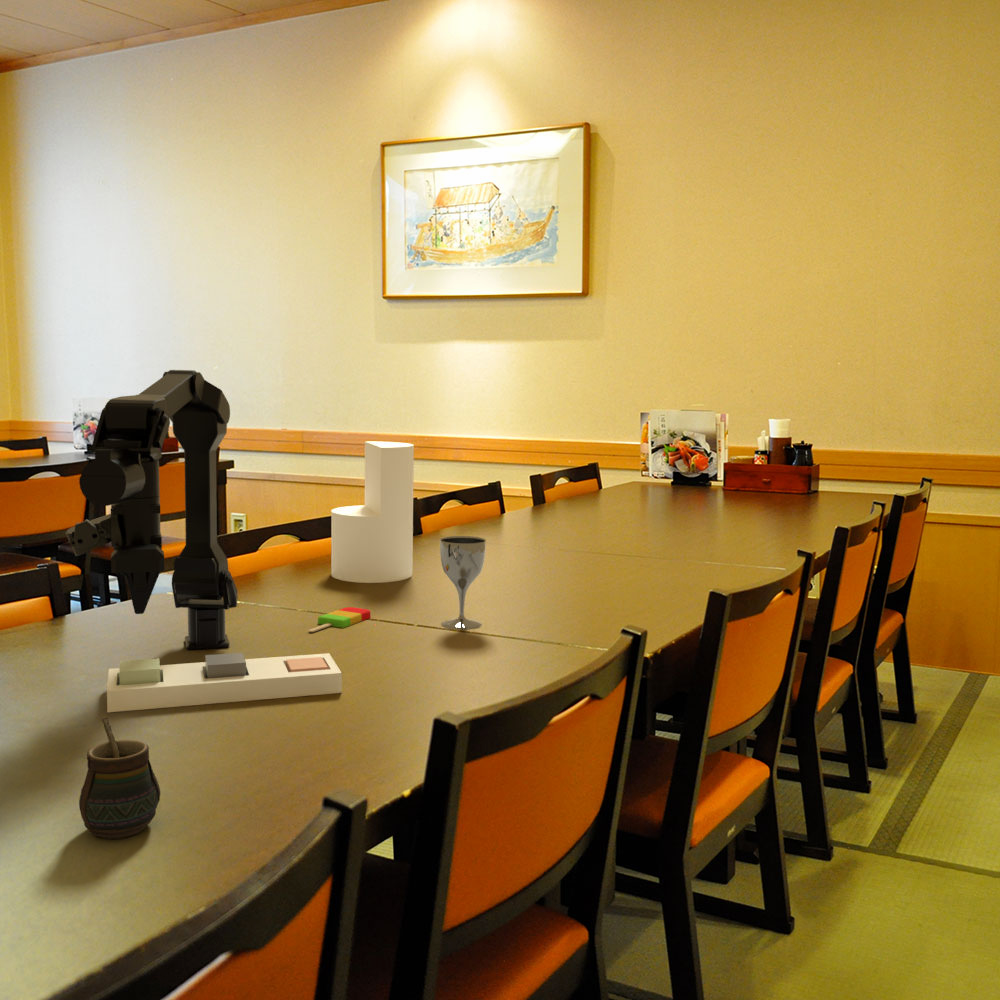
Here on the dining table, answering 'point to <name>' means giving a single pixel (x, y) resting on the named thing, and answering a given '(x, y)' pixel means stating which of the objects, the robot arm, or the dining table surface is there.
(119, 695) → the cream block puzzle board
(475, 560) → the wine glass
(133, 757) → the mate gourd
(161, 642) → the dining table surface
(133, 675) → the sage key
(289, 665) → the terracotta key
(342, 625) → the popsicle
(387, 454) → the cylinder
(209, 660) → the charcoal key
